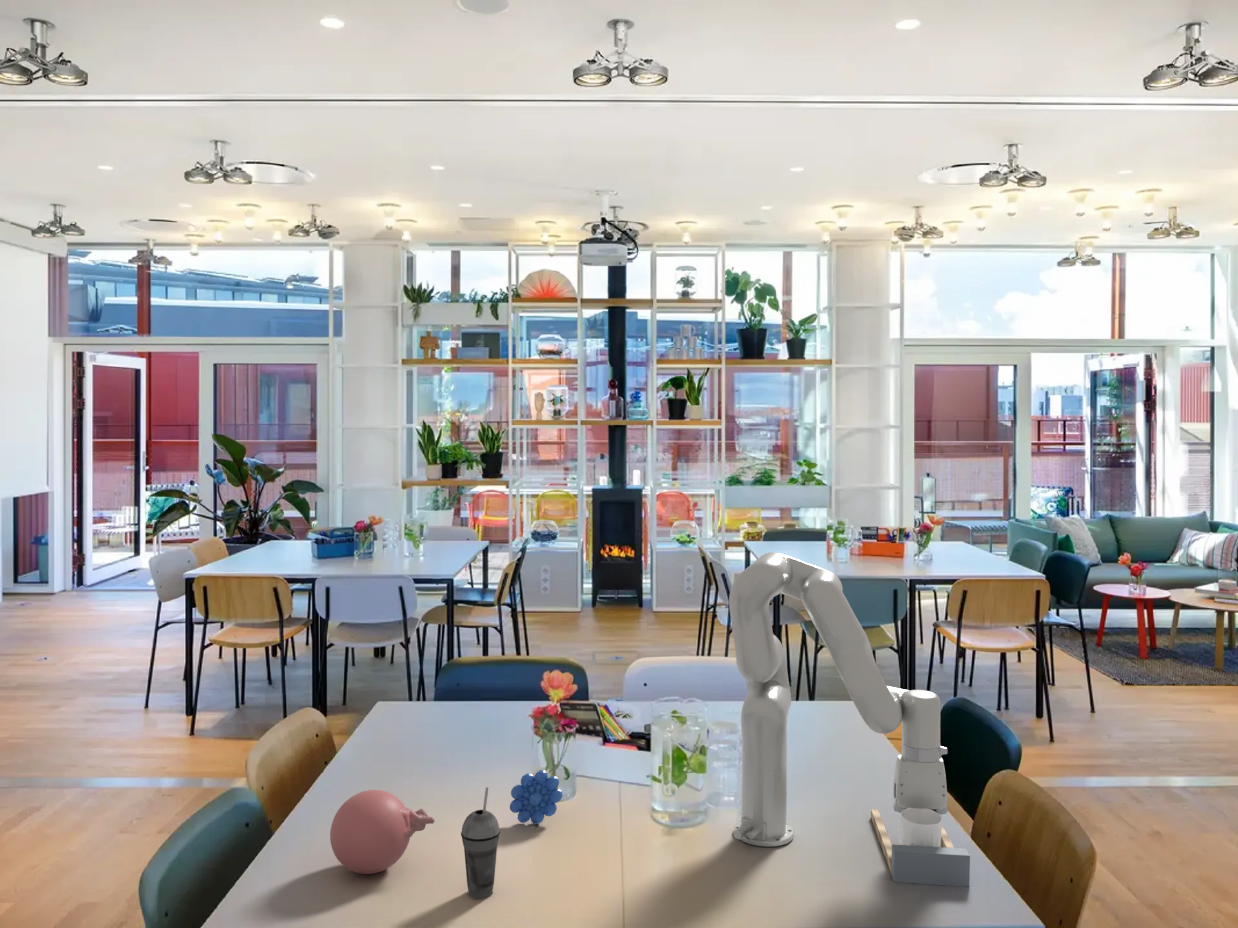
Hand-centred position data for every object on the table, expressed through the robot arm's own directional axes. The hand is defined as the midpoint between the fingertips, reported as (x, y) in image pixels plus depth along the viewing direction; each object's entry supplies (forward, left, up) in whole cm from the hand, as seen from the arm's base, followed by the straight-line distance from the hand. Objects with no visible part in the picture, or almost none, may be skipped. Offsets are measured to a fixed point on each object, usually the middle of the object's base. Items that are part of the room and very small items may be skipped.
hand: (919, 839), depth 191 cm
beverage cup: (-67, +60, -3) cm, 90 cm away
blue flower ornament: (-37, +73, -3) cm, 81 cm away
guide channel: (+2, +2, -3) cm, 4 cm away
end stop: (-10, -5, -3) cm, 12 cm away
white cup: (-5, -2, -3) cm, 6 cm away
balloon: (-72, +82, -3) cm, 109 cm away
